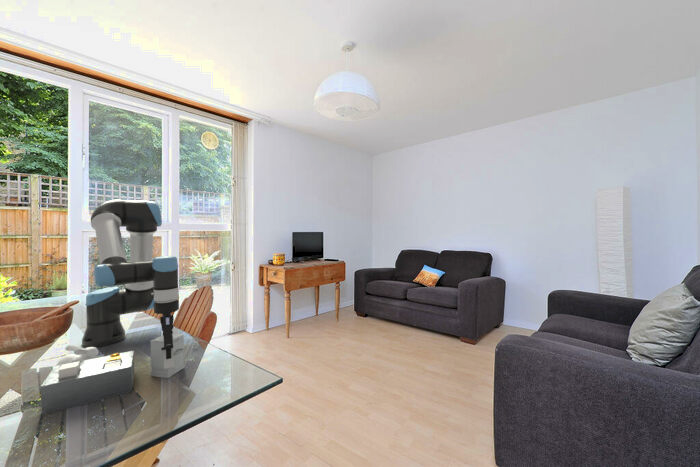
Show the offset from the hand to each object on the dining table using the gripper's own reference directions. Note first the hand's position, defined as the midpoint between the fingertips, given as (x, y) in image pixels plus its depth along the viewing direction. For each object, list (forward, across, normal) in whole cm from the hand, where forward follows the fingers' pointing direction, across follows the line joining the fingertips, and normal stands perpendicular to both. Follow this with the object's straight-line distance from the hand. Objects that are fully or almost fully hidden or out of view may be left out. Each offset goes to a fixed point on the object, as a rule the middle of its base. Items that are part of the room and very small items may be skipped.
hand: (168, 359), depth 104 cm
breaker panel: (+4, +1, -20) cm, 20 cm away
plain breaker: (-1, +3, -25) cm, 25 cm away
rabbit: (+4, -14, -26) cm, 30 cm away
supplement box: (+5, 0, 0) cm, 5 cm away
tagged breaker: (+1, +3, -15) cm, 15 cm away
